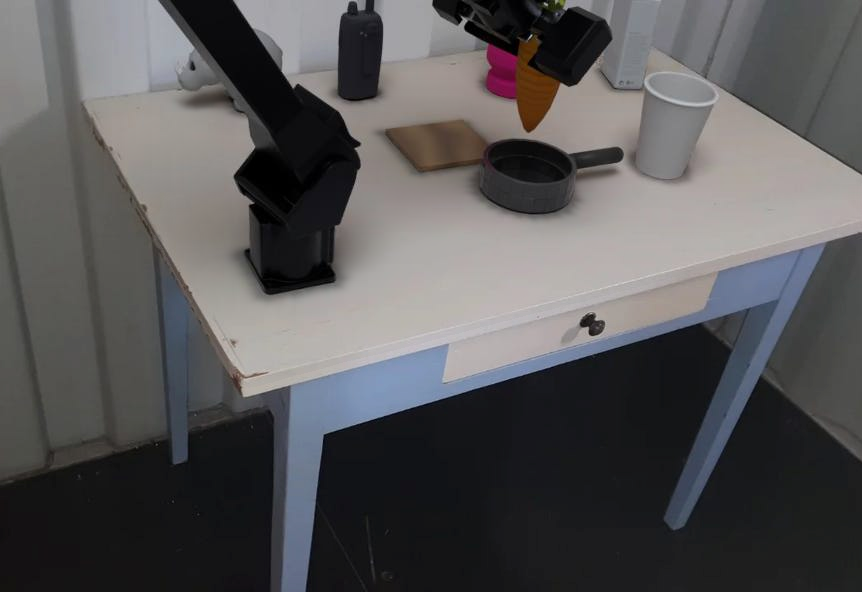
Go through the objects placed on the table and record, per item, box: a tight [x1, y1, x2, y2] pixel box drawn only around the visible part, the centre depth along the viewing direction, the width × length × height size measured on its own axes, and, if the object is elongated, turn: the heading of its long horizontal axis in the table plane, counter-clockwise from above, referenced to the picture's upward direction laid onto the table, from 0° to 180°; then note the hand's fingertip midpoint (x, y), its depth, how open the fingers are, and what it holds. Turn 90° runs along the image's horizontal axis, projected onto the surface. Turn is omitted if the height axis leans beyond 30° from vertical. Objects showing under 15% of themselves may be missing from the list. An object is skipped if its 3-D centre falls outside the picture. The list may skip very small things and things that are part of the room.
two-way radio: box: [337, 0, 384, 100], centre depth 107 cm, size 6×4×15 cm
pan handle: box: [567, 146, 625, 170], centre depth 101 cm, size 8×2×2 cm, turn 119°
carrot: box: [515, 0, 566, 134], centre depth 91 cm, size 5×5×15 cm
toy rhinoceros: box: [173, 27, 284, 112], centre depth 103 cm, size 7×12×8 cm, turn 117°
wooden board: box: [384, 119, 490, 173], centre depth 104 cm, size 10×9×1 cm
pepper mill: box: [485, 43, 517, 99], centre depth 113 cm, size 7×7×20 cm
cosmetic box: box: [600, 0, 662, 90], centre depth 122 cm, size 6×4×12 cm
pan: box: [478, 137, 578, 214], centre depth 98 cm, size 10×10×4 cm
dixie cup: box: [634, 71, 720, 180], centre depth 104 cm, size 8×8×10 cm
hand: (549, 67), depth 92 cm, fingers closed on carrot, 5 cm apart
